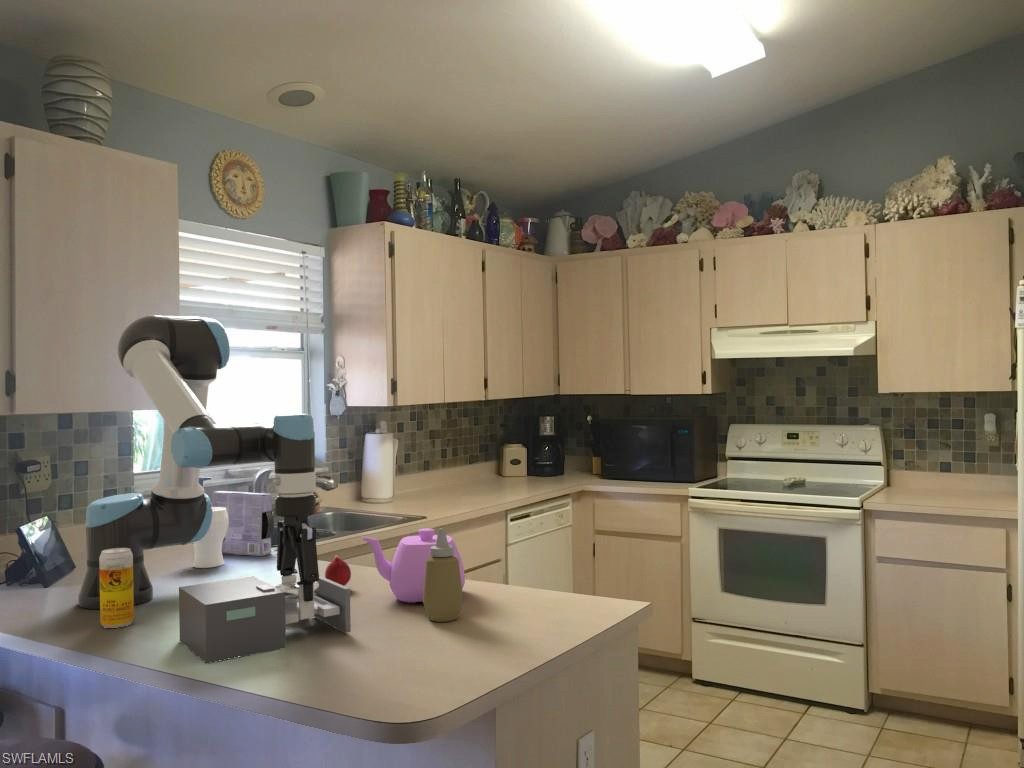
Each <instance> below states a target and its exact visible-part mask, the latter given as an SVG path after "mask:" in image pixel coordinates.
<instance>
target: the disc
mask: <svg viewBox="0 0 1024 768" xmlns="http://www.w3.org/2000/svg"><path fill="white" fill-rule="evenodd" d="M299 581H300V580H296V581H292V582H286V583H282V582H281V583H279V584H277V585H275V586H276V588H278V589H280V590H282V591H284V592H285V599H297V598H299V591H298V585H297V582H299ZM318 593H319V583H318V582H315V583H314V595H316V594H318Z"/></svg>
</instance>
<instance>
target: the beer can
mask: <svg viewBox="0 0 1024 768" xmlns="http://www.w3.org/2000/svg"><path fill="white" fill-rule="evenodd" d="M99 568H100V609H99V610H100V611H99V613H100V614H99V616H100V618H99V620H100V621H99V622H100V623H99V624H100V625H101V626H102V627H103V628H104V629H106V628H117V629H119V628H118V627H123V628H125V627H124V626H126V627H129V626H131V625H130V624H132V623H133V621H134V620H135V609H134V608H135V605H134V594H133V554H132V552H131V549H130V548H113V549H107V550H103V551H102V552H101V555H100V557H99ZM128 625H129V626H128Z"/></svg>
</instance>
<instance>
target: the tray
mask: <svg viewBox="0 0 1024 768" xmlns="http://www.w3.org/2000/svg"><path fill="white" fill-rule="evenodd" d="M315 582H318V583H319V593H318V594H316V595H314V617H313V618H316V619H319V620H320V621H322V622H324V623H326V624H327V625H330V626H331V627H334V628H335V629H338V630H339V631H342V632H343V633H351V632H352V631H351V626H352V625H351V622H352V621H351V588H350V587H348V586H346V585H345V586H343V585H341V584H338V583H336V582H333V581H331V580H329V579H326V578H325V577H324V576H321V575H319V581H315ZM298 617H299V598H297V603H293V604H287V605H285V620H286V625H288V624H293V623H299V621H300V619H299V618H298Z"/></svg>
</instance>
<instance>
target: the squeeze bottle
mask: <svg viewBox="0 0 1024 768" xmlns="http://www.w3.org/2000/svg"><path fill="white" fill-rule="evenodd" d="M436 535H437V540H436V546H432V547H431V548H430V555H431V556H432V557H430V558H428V559H427V560H426V567H425V580H424V592H423V602H422V603H423V605H424V609H425V612H426V614H427V617H428V620H429V621H432V622H437V623H438V622H439V623H441V622H442V623H444V622H445V623H446V622H451V621H455V620H457V619H458V618H459V615H460V614H461V609H462V606H463V602H464V594H463V588H462V585H461V576H460V568H459V560H458V559H457V558H456V557H455V556H452V555H453V554H454V547H453V546H451V545H448V541H447V537H446V535H447V534H446V529H445V528H444V527H443V528H438V530H437V534H436Z"/></svg>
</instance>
